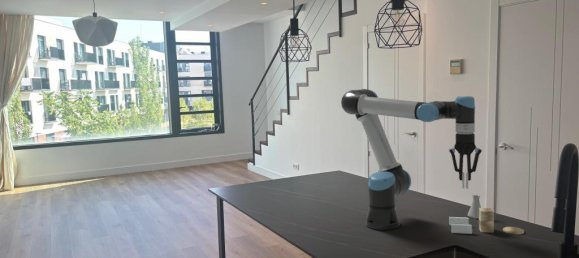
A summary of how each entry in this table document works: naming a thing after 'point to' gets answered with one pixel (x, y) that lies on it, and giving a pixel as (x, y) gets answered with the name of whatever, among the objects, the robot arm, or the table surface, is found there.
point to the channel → (460, 225)
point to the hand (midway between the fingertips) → (464, 187)
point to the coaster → (513, 230)
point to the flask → (474, 207)
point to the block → (486, 220)
